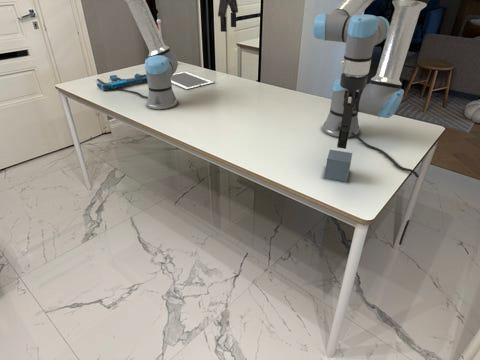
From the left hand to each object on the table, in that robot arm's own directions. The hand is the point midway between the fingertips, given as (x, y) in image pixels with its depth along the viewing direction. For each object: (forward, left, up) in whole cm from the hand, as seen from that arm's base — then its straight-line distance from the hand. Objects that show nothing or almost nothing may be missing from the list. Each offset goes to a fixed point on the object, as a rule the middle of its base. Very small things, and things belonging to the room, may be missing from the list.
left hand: (228, 29), depth 168 cm
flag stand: (-83, +8, -35) cm, 90 cm away
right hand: (+87, -23, -20) cm, 92 cm away
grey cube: (+87, -24, -35) cm, 96 cm away
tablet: (-42, -1, -35) cm, 54 cm away
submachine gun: (-63, -31, -35) cm, 78 cm away
